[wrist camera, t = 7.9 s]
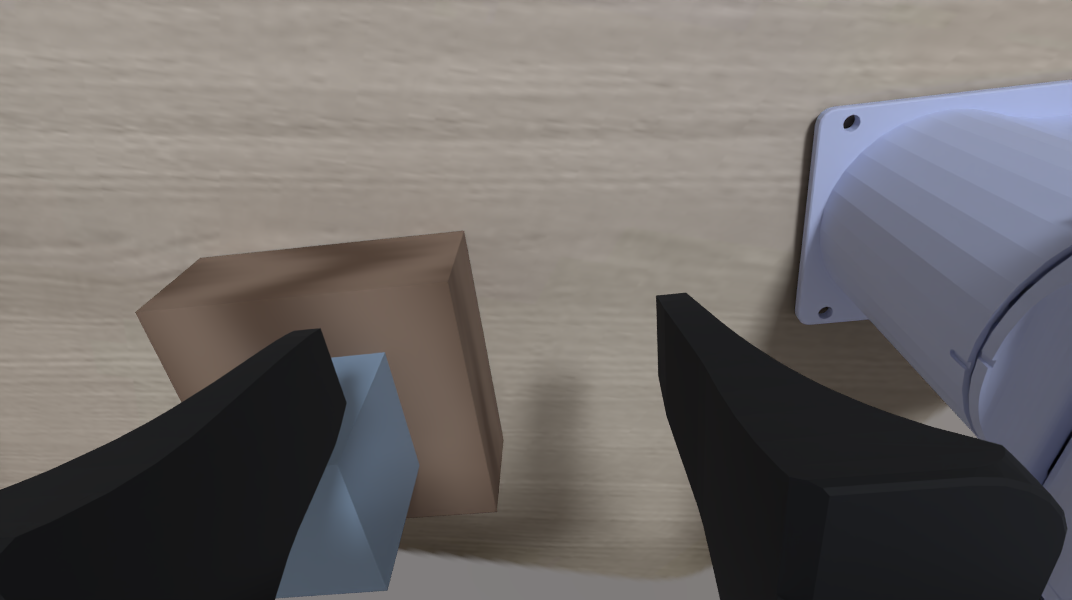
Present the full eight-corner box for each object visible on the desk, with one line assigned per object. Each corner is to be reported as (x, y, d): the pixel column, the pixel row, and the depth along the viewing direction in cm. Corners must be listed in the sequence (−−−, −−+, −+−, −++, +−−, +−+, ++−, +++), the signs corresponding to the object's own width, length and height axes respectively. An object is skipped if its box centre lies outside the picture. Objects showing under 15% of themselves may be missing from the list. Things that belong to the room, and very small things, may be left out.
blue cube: (384, 352, 19) (337, 464, 15) (419, 465, 22) (387, 590, 17) (238, 367, 20) (149, 481, 15) (288, 476, 22) (224, 601, 18)
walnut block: (463, 230, 21) (447, 281, 18) (503, 439, 26) (496, 511, 23) (200, 258, 22) (135, 312, 19) (285, 456, 27) (247, 529, 24)
